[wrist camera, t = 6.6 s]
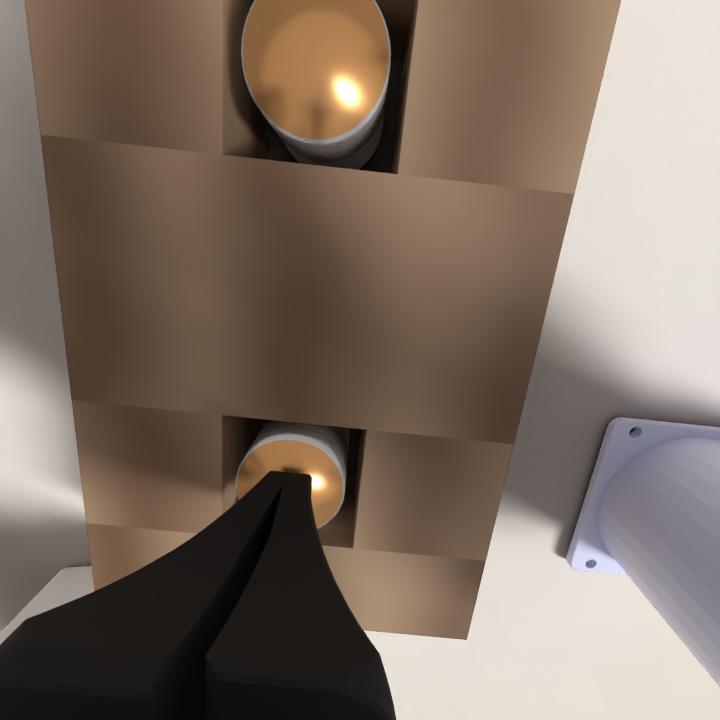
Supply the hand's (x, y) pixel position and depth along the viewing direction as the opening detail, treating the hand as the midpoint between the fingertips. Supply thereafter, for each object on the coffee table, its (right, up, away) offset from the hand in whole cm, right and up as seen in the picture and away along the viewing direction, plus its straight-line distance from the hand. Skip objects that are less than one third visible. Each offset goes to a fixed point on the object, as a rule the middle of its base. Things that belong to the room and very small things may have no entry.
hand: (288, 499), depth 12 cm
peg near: (+1, +13, +2) cm, 13 cm away
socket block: (+1, +7, +3) cm, 8 cm away
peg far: (0, +1, +5) cm, 5 cm away
